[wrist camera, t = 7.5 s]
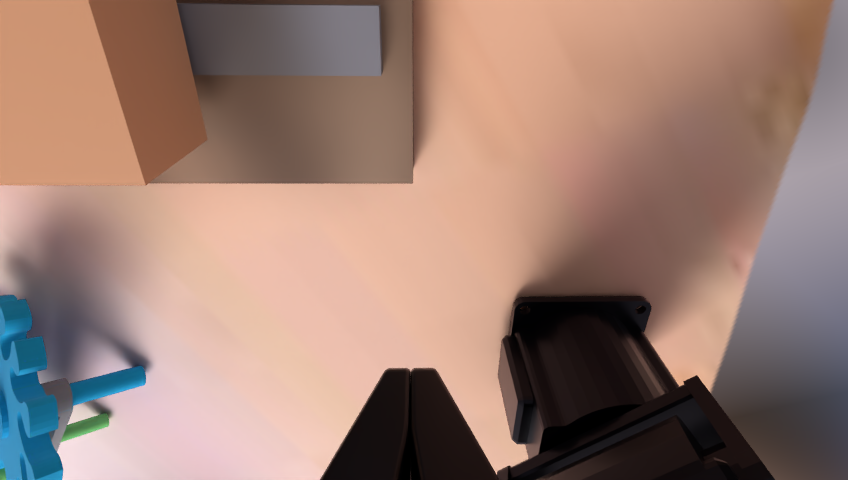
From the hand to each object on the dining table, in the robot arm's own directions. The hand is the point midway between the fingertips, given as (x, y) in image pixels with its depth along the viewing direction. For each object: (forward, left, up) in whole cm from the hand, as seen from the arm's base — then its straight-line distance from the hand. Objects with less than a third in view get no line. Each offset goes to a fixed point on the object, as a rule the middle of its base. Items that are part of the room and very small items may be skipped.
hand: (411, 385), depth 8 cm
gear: (+17, +11, -12) cm, 24 cm away
